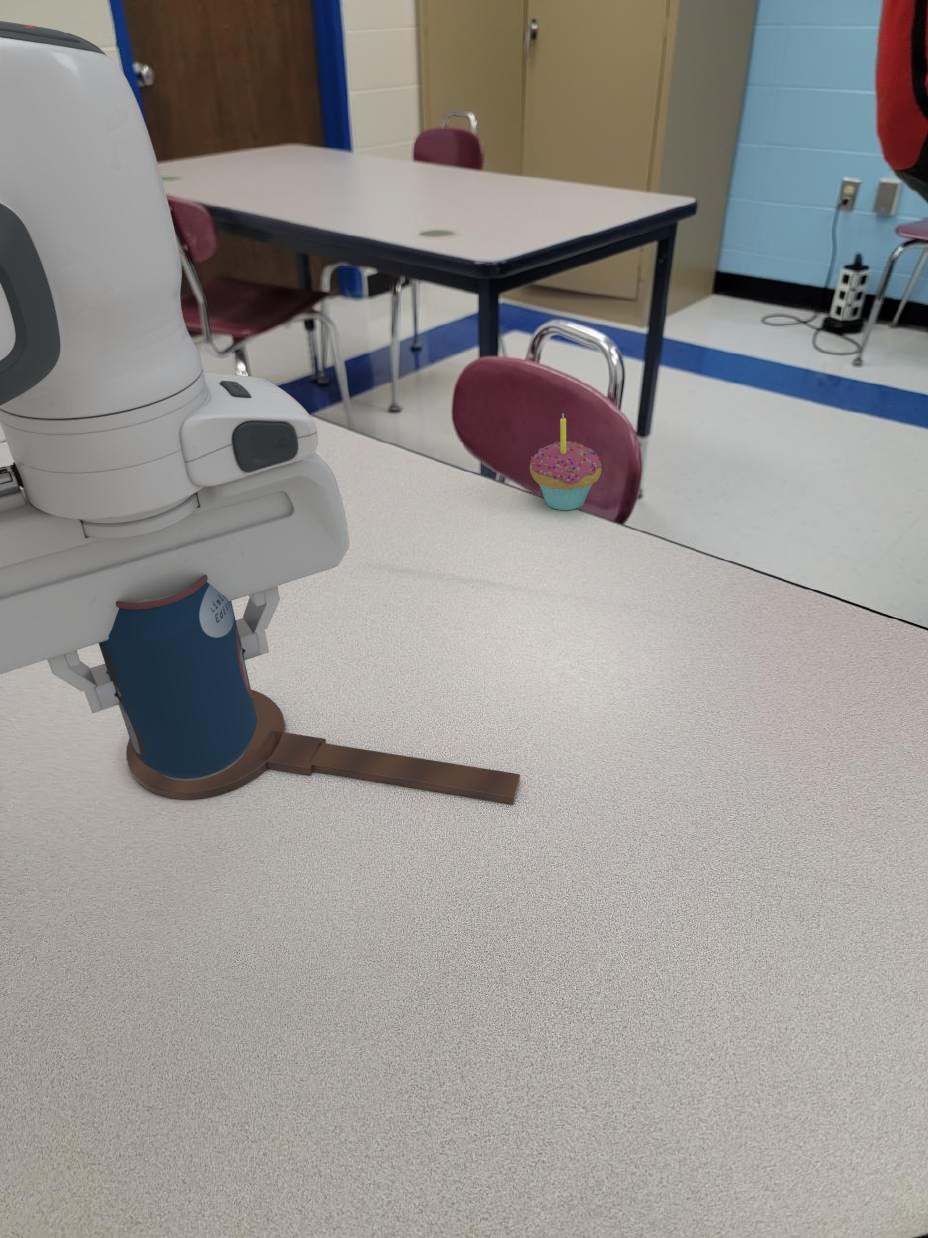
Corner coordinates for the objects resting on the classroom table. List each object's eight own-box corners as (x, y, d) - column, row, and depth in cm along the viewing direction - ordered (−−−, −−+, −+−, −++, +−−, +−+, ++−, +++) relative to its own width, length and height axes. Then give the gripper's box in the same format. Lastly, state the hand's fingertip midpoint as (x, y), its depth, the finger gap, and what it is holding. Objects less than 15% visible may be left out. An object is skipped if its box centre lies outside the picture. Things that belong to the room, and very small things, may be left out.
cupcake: (590, 522, 105) (596, 425, 98) (520, 512, 107) (520, 417, 100) (605, 489, 111) (612, 395, 104) (538, 480, 113) (540, 388, 106)
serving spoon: (96, 785, 72) (94, 778, 72) (176, 683, 83) (174, 676, 82) (499, 857, 65) (499, 850, 65) (532, 736, 75) (532, 729, 75)
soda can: (285, 728, 53) (251, 554, 46) (204, 806, 48) (153, 625, 41) (196, 693, 56) (151, 525, 49) (111, 764, 51) (48, 588, 44)
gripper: (-138, 534, 35) (-16, 786, 43) (347, 414, 43) (372, 645, 51) (-142, 472, 39) (-31, 711, 47) (297, 374, 47) (328, 592, 55)
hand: (181, 676), depth 49 cm, fingers closed on soda can, 7 cm apart
